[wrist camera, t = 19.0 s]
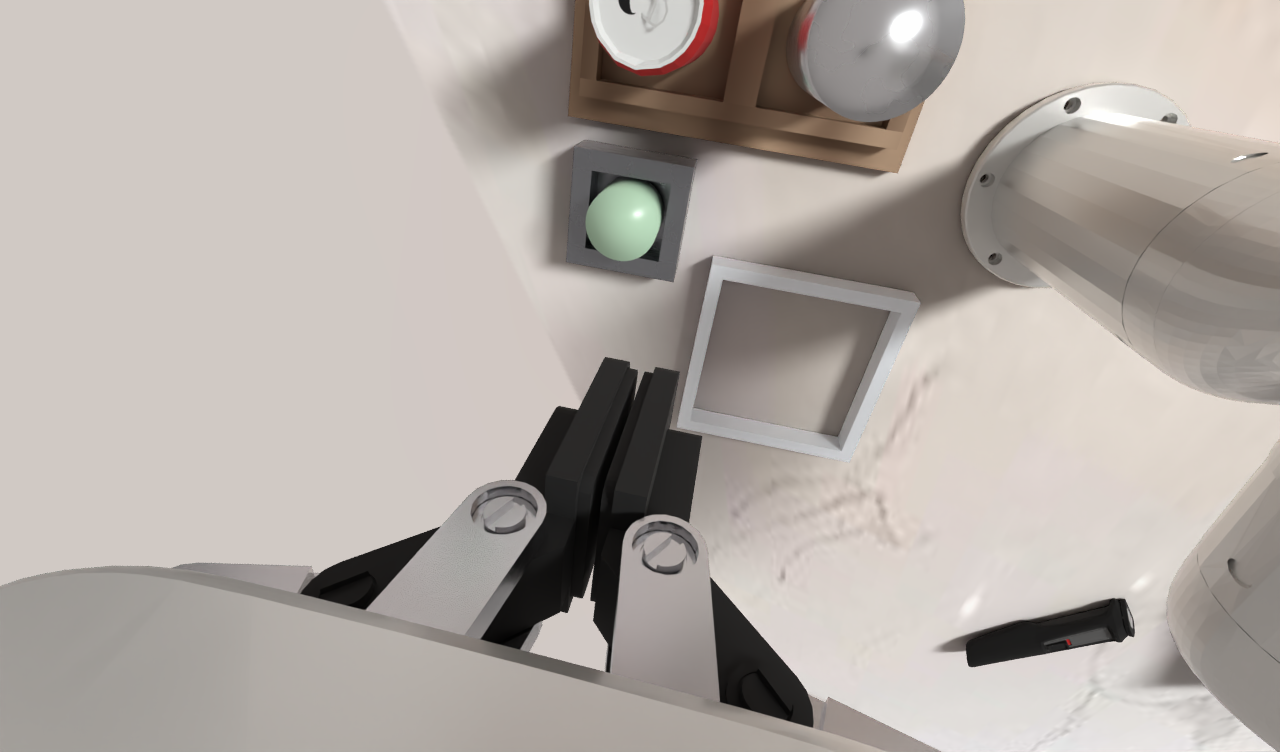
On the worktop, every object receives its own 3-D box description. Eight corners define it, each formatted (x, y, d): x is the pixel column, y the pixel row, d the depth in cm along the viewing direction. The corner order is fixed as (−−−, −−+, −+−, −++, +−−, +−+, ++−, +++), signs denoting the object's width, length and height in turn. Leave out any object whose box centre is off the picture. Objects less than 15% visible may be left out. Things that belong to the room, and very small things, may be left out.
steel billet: (908, -12, 31) (993, -38, 21) (870, 106, 34) (927, 132, 24) (802, -28, 31) (833, -62, 21) (774, 90, 34) (790, 109, 24)
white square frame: (913, 292, 41) (920, 302, 39) (845, 447, 49) (849, 462, 47) (713, 255, 42) (712, 264, 40) (678, 414, 50) (676, 427, 48)
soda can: (735, -15, 32) (735, -41, 22) (694, 83, 35) (677, 100, 25) (648, -60, 32) (607, -108, 21) (614, 43, 34) (563, 44, 24)
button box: (697, 159, 38) (694, 167, 36) (677, 267, 43) (673, 282, 40) (584, 139, 39) (574, 146, 36) (576, 248, 43) (566, 261, 40)
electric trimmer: (952, 629, 59) (962, 657, 57) (1122, 592, 53) (1142, 622, 50) (965, 648, 61) (975, 677, 58) (1131, 615, 54) (1151, 645, 52)
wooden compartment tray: (984, -79, 30) (1004, -89, 28) (893, 169, 37) (903, 178, 34) (589, -137, 31) (577, -152, 29) (572, 114, 38) (562, 118, 36)
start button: (669, 182, 38) (662, 195, 35) (658, 248, 41) (651, 267, 37) (601, 170, 39) (588, 182, 35) (595, 236, 41) (582, 254, 38)
